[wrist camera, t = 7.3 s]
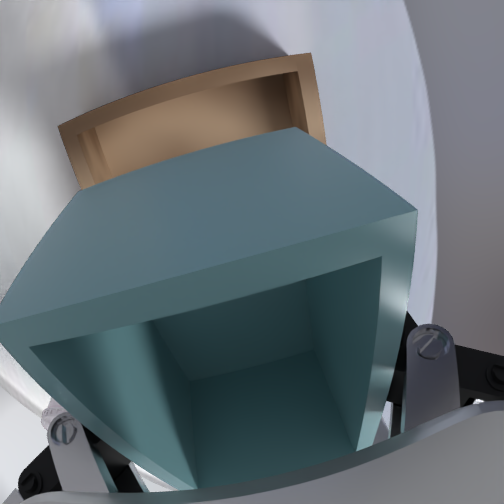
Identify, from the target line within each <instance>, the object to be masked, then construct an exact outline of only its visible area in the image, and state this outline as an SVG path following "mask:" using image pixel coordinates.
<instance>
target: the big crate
mask: <svg viewBox="0 0 504 504" xmlns="http://www.w3.org/2000/svg"><path fill="white" fill-rule="evenodd" d="M292 127H297V128H299V129H300V130H302V131H304V132H305V133H307V134H309V135H310V136H312V137H314V138H315V139H317V140H319V141H320V142H322V143H323V144H325V145H326V138H325V131H324V124H323V117H322V111H321V105H320V99H319V93H318V87H317V81H316V76H315V70H314V65H313V60H312V55H311V53H304V54H296V55H289V56H282V57H276V58H270V59H264V60H258V61H253V62H248V63H243V64H238V65H233V66H229V67H224V68H220V69H216V70H212V71H207V72H204V73H200V74H196V75H192V76H189V77H185V78H182V79H178V80H175V81H171V82H168V83H165V84H162V85H159V86H156V87H153V88H150V89H147V90H144V91H141V92H138V93H135V94H132V95H130V96H127V97H124V98H121V99H119V100H116V101H114V102H111V103H109V104H106V105H104V106H101V107H99V108H96V109H94V110H92V111H89V112H87V113H85V114H83V115H80V116H78V117H76V118H74V119H72V120H69V121H67V122H65V123H63V124H61V125H59V126H58V129H59V132H60V135H61V138H62V140H63V143H64V146H65V149H66V151H67V154H68V157H69V159H70V162H71V165H72V167H73V170H74V172H75V175H76V177H77V180H78V182H79V185H80V187H81V190H83V189H86V188H88V187H91V186H93V185H96V184H98V183H101V182H104V181H106V180H109V179H112V178H115V177H117V176H120V175H123V174H126V173H129V172H131V171H134V170H137V169H140V168H143V167H146V166H149V165H152V164H155V163H158V162H161V161H165V160H168V159H171V158H174V157H178V156H181V155H184V154H188V153H191V152H194V151H198V150H201V149H205V148H209V147H212V146H216V145H220V144H224V143H227V142H231V141H235V140H239V139H243V138H247V137H252V136H256V135H260V134H264V133H269V132H273V131H278V130H283V129H287V128H292Z"/></svg>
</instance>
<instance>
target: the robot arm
mask: <svg viewBox="0 0 504 504" xmlns="http://www.w3.org/2000/svg"><path fill="white" fill-rule="evenodd" d="M386 401H389V402H391V413H390V424H389V429H388V427H387V425H386V423H385V421H384V419H383V417H382V416H381V420H380V423H379V426H378V429H377V432H376V435H375V438H374V441H373V444H372V446H369V447H367V448H364V449H361V450H359V451H356V452H353V453H350V454H348V455H345V456H342V457H339V458H336V459H333V460H330V461H326V462H323V463H320V464H317V465H313V466H310V467H306V468H303V469H299V470H295V471H291V472H287V473H283V474H279V475H275V476H271V477H266V478H261V479H257V480H252V481H246V482H241V483H235V484H229V485H223V486H216V487H208V488H200V489H191V490H180V491H168V492H149V490H148V488H147V487H146V485H145V483H144V482H143V480H142V478H141V476H140V474H139V473H138V471H137V469H136V467H135V465H134V463H133V462H132V461H131V460H129V459H128V458H126V457H125V456H124V455H122V454H121V453H119V452H118V451H117V450H115V449H114V448H112V447H111V446H110V445H108V444H107V443H106V442H104V441H103V440H102V439H100V438H99V437H98V436H97V435H95V434H94V433H93V432H91V431H90V430H89V429H88V428H86V427H85V426H84V425H83V424H82V423H80V422H79V421H78V420H77V419H76V418H74V417H73V416H72V415H71V414H70V413H69V412H63V413H61V414H59V415H57V416H56V417H55V418H54V419H53V420H52V422H51V423H50V425H49V427H48V432H47V437H48V443H49V446H47V447H46V448H45V449H44V450H43V451H42V452H41V453H40V454H39V455H38V456H37V457H36V458H35V459H34V460H33V461H32V462H31V463H30V464H29V465H28V466H27V468H25V469H24V470H23V472H22V473H21V475H20V477H19V481H18V488H19V490H18V489H16V488H15V490H14V491H13V492H12V493H11V494H10V495H9V497H8V498H7V499H6V500H5V501H4V503H3V504H504V356H500V355H497V354H492V353H488V352H484V351H479V350H475V349H471V348H467V347H463V346H458V345H455V344H454V340H453V337H452V336H451V334H450V333H449V331H447V330H446V329H445V328H443V327H441V326H439V325H436V324H423V325H420V326H418V325H417V324H416V323H415V321H414V320H413V318H412V317H411V316H410V314H409V313H408V312H407V311H406V316H405V322H404V327H403V332H402V337H401V342H400V347H399V351H398V356H397V360H396V365H395V369H394V373H393V377H392V381H391V385H390V388H389V392H388V396H387V399H386Z"/></svg>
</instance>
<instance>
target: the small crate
mask: <svg viewBox="0 0 504 504" xmlns="http://www.w3.org/2000/svg"><path fill="white" fill-rule="evenodd" d="M417 217H418V210H417V209H416V208H415V207H414V206H412V205H411V204H410V203H408V202H407V201H406V200H404V199H403V198H402V197H400V196H399V195H398V194H396V193H395V192H394V191H392V190H391V189H390V188H388V187H387V186H386V185H384V184H383V183H381V182H380V181H379V180H377V179H376V178H374V177H373V176H372V175H370V174H369V173H367V172H366V171H364V170H363V169H362V168H360V167H359V166H357V165H356V164H354V163H353V162H351V161H350V160H348V159H347V158H345V157H344V156H342V155H341V154H339V153H338V152H336V151H334V150H333V149H331V148H330V147H328V146H327V145H325V144H323V143H322V142H320V141H319V140H317V139H315V138H314V137H312V136H310V135H309V134H307V133H305V132H304V131H302V130H300V129H299V128H297V127H292V128H287V129H283V130H278V131H273V132H269V133H264V134H260V135H256V136H252V137H247V138H243V139H239V140H235V141H231V142H227V143H224V144H220V145H216V146H212V147H209V148H205V149H201V150H198V151H194V152H191V153H188V154H184V155H181V156H178V157H174V158H171V159H168V160H165V161H161V162H158V163H155V164H152V165H149V166H146V167H143V168H140V169H137V170H134V171H131V172H129V173H126V174H123V175H120V176H117V177H115V178H112V179H109V180H106V181H104V182H101V183H98V184H96V185H93V186H91V187H88V188H86V189H83V190H81V191H78V192H77V194H76V195H75V196H74V197H73V198H72V200H71V201H70V202H69V203H68V205H67V206H66V207H65V209H64V210H63V211H62V212H61V214H60V215H59V216H58V218H57V219H56V220H55V222H54V223H53V224H52V226H51V227H50V228H49V230H48V231H47V232H46V234H45V235H44V237H43V238H42V239H41V241H40V242H39V244H38V245H37V246H36V248H35V249H34V251H33V252H32V254H31V255H30V257H29V258H28V260H27V261H26V263H25V264H24V266H23V267H22V269H21V271H20V272H19V274H18V275H17V277H16V278H15V280H14V282H13V283H12V285H11V287H10V288H9V290H8V292H7V293H6V295H5V297H4V299H3V300H2V302H1V304H0V343H1V344H2V345H3V346H4V347H5V348H6V350H7V351H8V352H9V353H10V354H11V355H12V357H13V358H14V359H15V360H16V361H17V362H18V363H19V364H20V365H21V367H22V368H23V369H24V370H25V371H26V372H27V373H28V374H29V375H30V376H31V377H32V378H33V379H34V380H35V381H36V382H37V383H38V384H39V385H40V386H41V387H42V388H43V389H44V390H45V391H46V392H47V393H48V394H49V395H50V396H51V397H52V398H53V399H54V400H55V401H56V402H58V403H59V404H60V405H61V406H62V407H63V408H64V409H65V410H66V411H68V412H69V413H70V414H71V415H72V416H73V417H74V418H76V419H77V420H78V421H79V422H80V423H82V424H83V425H84V426H85V427H86V428H88V429H89V430H90V431H91V432H93V433H94V434H95V435H97V436H98V437H99V438H100V439H102V440H103V441H104V442H106V443H107V444H108V445H110V446H111V447H112V448H114V449H115V450H117V451H118V452H119V453H121V454H122V455H124V456H125V457H126V458H128V459H129V460H131V461H132V462H134V463H135V464H137V465H138V466H140V467H141V468H143V469H145V470H146V471H148V472H149V473H151V474H152V475H154V476H156V477H157V478H159V479H161V480H162V481H164V482H166V483H167V484H169V485H171V486H173V487H174V488H176V489H178V490H191V489H200V488H208V487H216V486H223V485H229V484H235V483H241V482H246V481H252V480H257V479H261V478H266V477H271V476H275V475H279V474H283V473H287V472H291V471H295V470H299V469H303V468H306V467H310V466H313V465H317V464H320V463H323V462H326V461H330V460H333V459H336V458H339V457H342V456H345V455H348V454H350V453H353V452H356V451H359V450H361V449H364V448H367V447H369V446H372V444H373V441H374V438H375V435H376V432H377V429H378V426H379V423H380V420H381V416H382V413H383V410H384V406H385V403H386V399H387V396H388V392H389V388H390V385H391V381H392V377H393V373H394V369H395V365H396V360H397V356H398V351H399V347H400V342H401V337H402V332H403V327H404V322H405V316H406V311H407V305H408V298H409V292H410V285H411V278H412V270H413V262H414V253H415V243H416V231H417Z"/></svg>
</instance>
